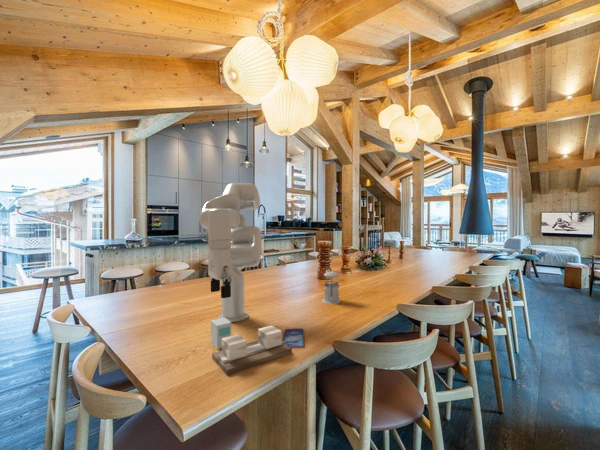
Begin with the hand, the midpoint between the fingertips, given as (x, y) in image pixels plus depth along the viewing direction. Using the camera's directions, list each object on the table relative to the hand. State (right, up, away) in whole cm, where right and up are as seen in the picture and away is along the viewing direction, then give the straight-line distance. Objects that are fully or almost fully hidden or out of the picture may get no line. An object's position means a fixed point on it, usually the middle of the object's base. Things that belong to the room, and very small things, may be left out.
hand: (220, 294), depth 101 cm
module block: (0, -18, +1) cm, 18 cm away
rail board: (+12, -18, -7) cm, 23 cm away
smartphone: (+25, -18, +6) cm, 31 cm away
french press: (+43, -16, +50) cm, 68 cm away
